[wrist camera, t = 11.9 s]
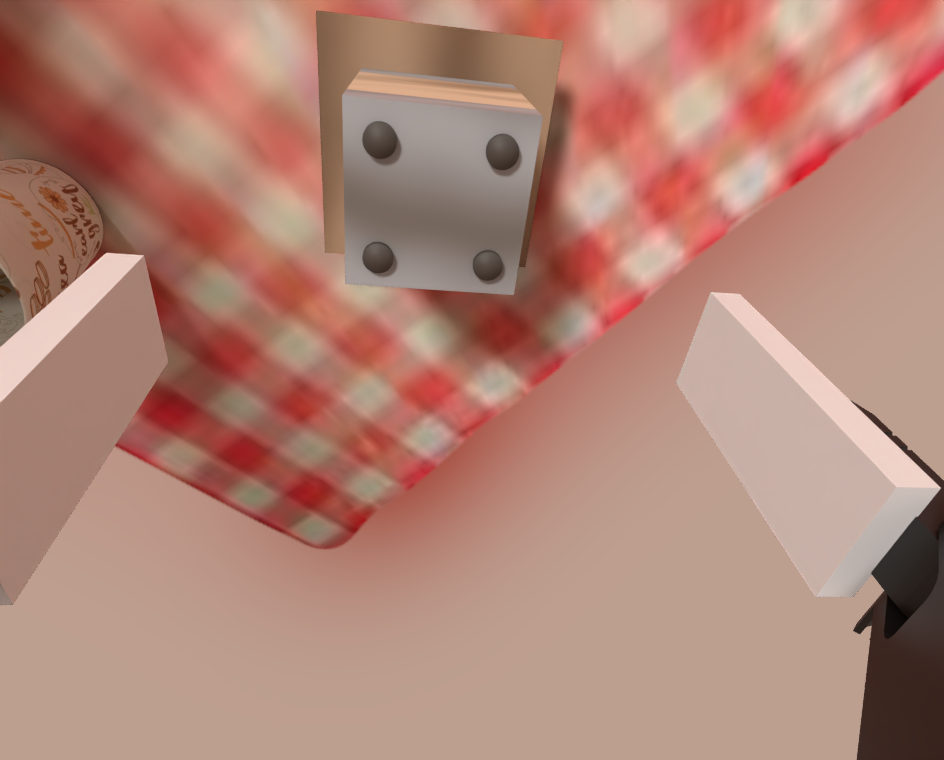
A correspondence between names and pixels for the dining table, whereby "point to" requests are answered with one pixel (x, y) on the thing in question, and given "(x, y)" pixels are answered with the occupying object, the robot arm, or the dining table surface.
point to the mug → (41, 238)
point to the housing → (436, 181)
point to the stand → (427, 53)
